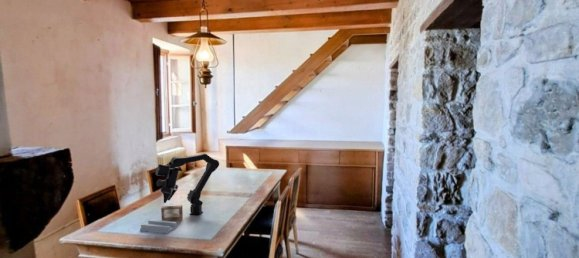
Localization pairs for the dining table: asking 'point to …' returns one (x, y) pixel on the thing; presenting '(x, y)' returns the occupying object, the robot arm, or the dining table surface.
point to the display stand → (159, 226)
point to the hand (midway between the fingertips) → (166, 201)
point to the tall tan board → (172, 213)
